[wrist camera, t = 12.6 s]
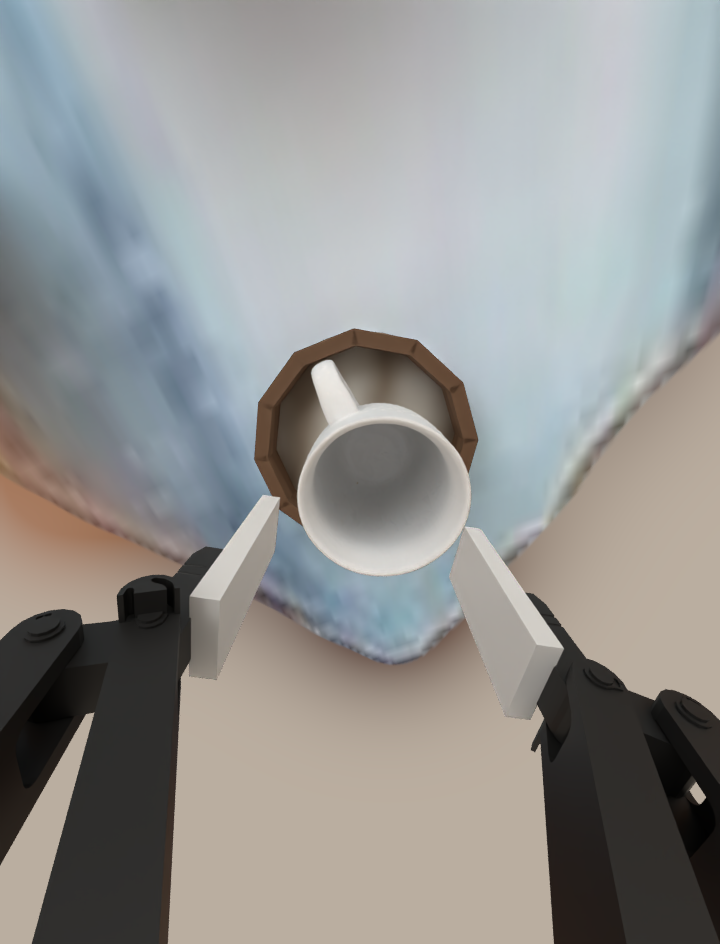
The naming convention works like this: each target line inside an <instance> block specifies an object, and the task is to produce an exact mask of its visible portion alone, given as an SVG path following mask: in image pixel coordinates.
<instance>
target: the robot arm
mask: <svg viewBox="0 0 720 944" xmlns="http://www.w3.org/2000/svg"><path fill="white" fill-rule="evenodd" d="M279 504H280V497H273V496H267V495H262V497H261V498H260V500H259V501H258V502H257V504H256V505H255V506H254V508H253V509H252V511H251V512H250V513H249V515H248V516H247V517H246V519H245V520H244V522H243V523H242V524H241V526H240V527H239V529H238V530H237V531H236V533H235V534H234V535H233V537H232V538H231V540H230V541H229V542H228V544H227V545H226V547H225V548H224V549H219V548H212V547H204V548H202V549H201V550H199V551H197V552H195V553H193V554H192V555H191V557H190V558H189V559H188V560H187V561H186V562H185V564H184V565H183V566H182V567H181V568H180V569H179V571H178V573H176V574H175V575H174V576H173V577H170V576H166V575H150V576H145V577H141V578H138V579H136V580H134V581H131V582H129V583H128V584H127V585H125V586H124V587H123V588H121V590H120V591H119V593H118V594H117V605H118V617H119V620H116V621H111V622H102V623H92V624H82V619H81V615H80V614H78V613H77V612H75V611H73V610H65V609H61V610H51V611H47V612H44V613H41V614H37V615H34V616H33V617H30V618H28V619H26V620H24V621H22V622H21V623H19V624H18V625H17V626H16V627H14V628H13V629H11V630H10V631H9V632H8V633H7V634H6V635H5V636H4V637H3V638H2V639H1V640H0V865H1V863H2V861H3V859H4V857H5V856H6V854H7V852H8V851H9V849H10V847H11V845H12V844H13V841H14V840H15V838H16V836H17V835H18V833H19V831H20V829H21V828H22V826H23V824H24V822H25V820H26V819H27V817H28V815H29V814H30V812H31V810H32V808H33V807H34V805H35V803H36V801H37V799H38V798H39V796H40V794H41V792H42V791H43V789H44V787H45V785H46V784H47V781H48V780H49V778H50V777H51V775H52V773H53V771H54V769H55V768H56V766H57V764H58V762H59V761H60V759H61V757H62V755H63V753H64V752H65V750H66V748H67V747H68V745H69V743H70V741H71V739H72V738H73V736H74V734H75V732H76V731H77V729H78V727H79V725H80V723H81V722H82V720H83V718H84V717H85V715H86V714H89V713H94V712H95V713H94V717H93V721H92V725H91V728H90V732H89V735H88V739H87V743H86V746H85V750H84V754H83V757H82V761H81V765H80V769H79V772H78V776H77V780H76V783H75V787H74V791H73V794H72V798H71V801H70V805H69V809H68V812H67V816H66V820H65V824H64V828H63V831H62V835H61V838H60V842H59V846H58V849H57V853H56V857H55V860H54V864H53V868H52V871H51V875H50V879H49V882H48V886H47V890H46V893H45V897H44V901H43V904H42V908H41V912H40V916H39V920H38V923H37V927H36V930H35V934H34V938H33V941H32V944H168V928H169V908H170V888H171V869H172V868H171V867H172V849H173V830H174V810H175V790H176V770H177V751H178V750H177V749H178V731H179V711H180V690H181V676H182V674H183V672H184V670H185V669H186V667H187V665H188V663H189V676H191V677H199V678H206V679H214V680H217V678H218V676H219V673H220V671H221V669H222V667H223V665H224V662H225V660H226V658H227V656H228V654H229V651H230V649H231V647H232V644H233V642H234V640H235V638H236V636H237V634H238V631H239V629H240V627H241V625H242V622H243V620H244V618H245V616H246V614H247V611H248V609H249V607H250V605H251V602H252V600H253V598H254V596H255V594H256V591H257V589H258V587H259V585H260V583H261V580H262V578H263V576H264V574H265V571H266V569H267V567H268V565H269V563H270V560H271V558H272V556H273V554H274V552H275V544H276V534H277V524H278V514H279ZM449 578H450V580H451V583H452V585H453V588H454V590H455V593H456V595H457V598H458V600H459V603H460V605H461V608H462V610H463V613H464V615H465V618H466V620H467V623H468V625H469V627H470V630H471V632H472V635H473V637H474V640H475V642H476V645H477V647H478V650H479V652H480V655H481V657H482V660H483V662H484V665H485V667H486V670H487V672H488V675H489V677H490V680H491V682H492V685H493V687H494V690H495V692H496V695H497V697H498V700H499V702H500V705H501V707H502V710H503V712H504V715H505V716H506V717H512V718H519V719H527V720H530V719H531V717H532V715H533V713H534V711H535V709H536V707H537V705H538V707H539V709H540V711H541V713H542V715H543V717H544V721H543V723H542V725H541V727H540V729H539V731H538V733H537V735H536V737H535V739H534V741H533V743H532V747H531V750H532V751H534V752H535V751H536V749H537V747H538V745H539V744H541V756H542V771H543V785H544V799H545V800H544V801H545V815H546V830H547V845H548V861H549V876H550V891H551V905H552V921H553V936H554V944H720V720H719V719H718V718H717V717H716V716H715V715H713V713H712V712H711V711H709V710H708V709H707V708H705V707H704V706H703V705H701V703H699V702H697V701H696V700H694V699H692V698H691V697H689V696H687V695H684V694H682V693H680V692H677V691H674V690H667V689H666V690H663V691H661V692H660V693H659V695H658V696H657V698H656V700H655V701H654V700H652V699H649V698H647V697H644V696H641V695H639V694H636V693H633V692H631V691H628V690H627V689H626V687H625V685H624V683H623V682H622V681H621V680H620V679H619V678H618V677H617V676H616V675H615V674H614V673H613V672H611V671H610V670H609V669H607V668H606V667H605V666H603V665H601V664H599V663H597V662H595V661H593V660H589V659H586V657H585V656H584V655H583V654H582V652H581V651H580V649H579V648H578V647H577V646H576V644H575V643H574V641H573V640H572V639H571V637H570V636H569V635H568V633H567V632H566V631H565V629H564V628H563V627H561V624H560V623H559V621H558V620H557V619H556V618H554V615H553V613H552V612H551V611H550V610H549V608H548V607H547V605H546V604H545V603H544V602H542V601H541V600H540V599H539V598H537V597H536V596H535V595H534V594H531V593H525V592H524V591H523V589H522V587H521V586H520V585H519V583H518V582H517V580H516V579H515V578H514V576H513V575H512V573H511V572H510V570H509V569H508V567H507V566H506V565H505V563H504V562H503V560H502V559H501V557H500V556H499V555H498V553H497V552H496V550H495V549H494V547H493V546H492V544H491V543H490V542H489V540H488V539H487V537H486V536H485V534H484V533H483V532H482V530H481V529H478V528H472V527H465V526H464V529H463V533H462V536H461V539H460V542H459V546H458V549H457V552H456V556H455V559H454V562H453V566H452V569H451V572H450V575H449ZM695 782H697V784H698V785H699V787H700V788H701V790H702V791H703V793H704V794H705V796H706V799H705V800H704V801H703V802H702V804H700V805H699V804H698V803H697V801H696V800H695V799H694V797H693V796H692V794H691V793H690V791H689V790H690V789H691V788H692V786H693V785H694V784H695Z"/></svg>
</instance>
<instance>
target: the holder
mask: <svg viewBox="0 0 720 944" xmlns="http://www.w3.org/2000/svg"><path fill="white" fill-rule="evenodd" d="M325 360H332V361H333V362H334V363H335V365H336V367H337V368H338V370H339V372H340V374H341V375H342V377H343V379H344V380H345V382H346V383H347V385H348V387H349V388H350V390H351V391H352V393H353V395H354V397H355V399H356V400H357V402H358V403H359V405H365V404H370V403H386V404H387V403H389V404H393V405H398V406H401V407H404V408H406V409H409V410H412V411H413V412H416V413H417V414H419V415H420V416H421V417H423V418H424V419H426V420H428V422H429V423H431V424H432V425H433V426H435V427H436V429H437V430H439V431H440V432H441V433H442V434H443V435H444V437H445V438H446V439H447V440H448V441H449V442H450V443H451V444H452V445H453V446H454V448H455V449H456V450H457V452H458V453H459V455H460V456H461V458H462V460H463V462H464V464H465V466H466V469H467V472H468V473H469V470H470V466H471V463H472V459H473V456H474V452H475V449H476V446H477V442H478V437H477V433H476V429H475V426H474V422H473V418H472V414H471V410H470V407H469V403H468V399H467V395H466V391H465V388H464V384H463V382H462V381H461V380H460V379H459V378H458V377H457V376H455V375H454V374H453V373H452V372H451V371H450V370H449V369H448V368H447V367H446V366H445V365H444V364H443V363H442V362H440V361H439V360H438V359H437V358H436V357H435V356H434V355H433V354H432V353H431V352H430V351H429V350H428V349H426V348H425V347H424V346H423V345H422V344H421V343H420V342H419V341H418V340H414V339H409V338H403V337H398V336H393V335H389V334H385V333H378V332H370V331H365V330H360V329H351V330H349V331H346V332H344V333H341V334H339V335H336V336H334V337H331V338H328V339H325V340H323V341H321V342H319V343H317V344H314V345H312V346H309V347H307V348H304V349H302V350H299V351H297V352H294V353H293V355H292V356H291V358H290V359H289V360H288V362H287V363H286V365H285V366H284V367H283V369H282V370H281V372H280V373H279V374H278V376H277V377H276V378H275V380H274V381H273V383H272V384H271V385H270V387H269V388H268V390H267V391H266V392H265V394H264V395H263V397H262V398H261V399H260V401H259V402H258V414H257V429H256V443H255V457H254V460H255V462H256V464H257V466H258V468H259V470H260V472H261V474H262V476H263V478H264V480H265V482H266V484H267V486H268V488H269V491H270V493H271V495H272V496H273V497H280V504H279V510H281V511H282V512H284V513H285V514H286V515H288V516H289V517H291V518H292V519H293V520H295V521H296V522H298V523H299V524H301V525H302V526H303V524H302V522H301V519H300V516H299V511H298V503H297V490H298V483H299V478H300V475H301V472H302V469H303V466H304V464H305V462H306V459H307V456H308V454H309V453H310V451H311V448H312V446H313V445H314V443H315V441H316V440H317V438H318V437H319V435H320V434H321V433H322V431H324V429H325V428H326V427H327V426H328V425H329V424H328V422H327V420H326V418H325V415H324V413H323V410H322V408H321V405H320V402H319V398H318V395H317V392H316V389H315V386H314V383H313V380H312V375H311V372H312V369H313V368H314V366H315V365H317V364H318V363H320V362H322V361H325Z"/></svg>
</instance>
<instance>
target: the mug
mask: <svg viewBox="0 0 720 944" xmlns="http://www.w3.org/2000/svg"><path fill="white" fill-rule="evenodd" d="M311 375H312V380H313V383H314V386H315V389H316V392H317V395H318V398H319V402H320V405H321V408H322V410H323V413H324V415H325V418H326V420H327V422H328V424H329V425H328V426H327V427H326V428H325V429H324V431H322V433H321V434H320V435H319V437H318V438H317V440H316V441H315V443H314V445H313V446H312V448H311V451H310V453H309V454H308V456H307V459H306V462H305V464H304V466H303V469H302V472H301V475H300V478H299V483H298V490H297V503H298V511H299V516H300V519H301V522H302V524H303V527H304V529H305V531H306V533H307V535H308V536H309V538H310V539H311V541H312V542H313V543H314V545H315V546H316V547H317V548H318V549H319V550H320V551H321V552H322V553H323V554H324V555H325V556H326V557H328V558H329V559H330V560H332V561H333V562H335V563H336V564H338V565H340V566H342V567H344V568H346V569H348V570H350V571H353V572H356V573H360V574H364V575H369V576H394V575H401V574H405V573H409V572H412V571H415V570H418V569H420V568H422V567H424V566H426V565H428V564H429V563H431V562H433V561H434V560H436V559H437V558H439V557H440V556H441V555H442V554H443V553H445V552H446V551H447V550H448V549H449V548H450V547H451V546H452V544H453V543H454V542H455V541H456V539H457V538H458V536H459V535H460V533H461V532H462V530H463V528H464V526H465V523H466V521H467V518H468V515H469V511H470V506H471V485H470V479H469V475H468V472H467V469H466V466H465V464H464V462H463V460H462V458H461V456H460V455H459V453H458V452H457V450H456V449H455V448H454V446H453V445H452V444H451V443H450V442H449V441H448V440H447V439H446V438H445V437H444V435H443V434H442V433H441V432H440V431H439V430H437V429H436V427H435V426H433V425H432V424H431V423H429V422H428V420H426V419H424V418H423V417H421V416H420V415H419V414H417V413H416V412H413V411H412V410H409V409H406V408H404V407H401V406H398V405H393V404H389V403H387V404H386V403H370V404H365V405H359V403H358V402H357V400H356V399H355V397H354V395H353V393H352V391H351V390H350V388H349V387H348V385H347V383H346V382H345V380H344V379H343V377H342V375H341V374H340V372H339V370H338V368H337V367H336V365H335V363H334V362H333V361H332V360H325V361H322V362H320V363H318V364H317V365H315V366H314V368H313V369H312V372H311Z"/></svg>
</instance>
